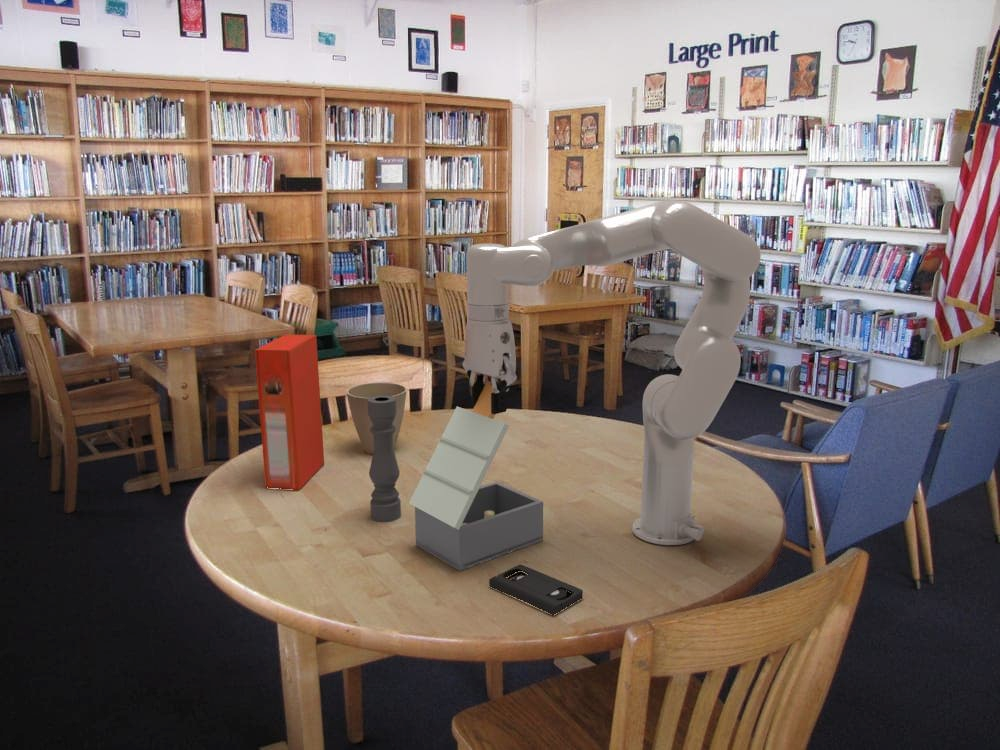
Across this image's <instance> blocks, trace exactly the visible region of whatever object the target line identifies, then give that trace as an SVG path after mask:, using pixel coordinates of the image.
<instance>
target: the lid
mask: <svg viewBox="0 0 1000 750" xmlns="http://www.w3.org/2000/svg"><path fill="white" fill-rule="evenodd" d="M484 384H485V386H484V388H483V390H482V392H481V394H480V396H479V398H478V400H477V402H476V404H475V406H474V407H472V411H471V410H469V409H466V408H462V407H459V406H457V405H456V407H455V409H454V411H453V414H452V415H451V418H450V419H449V421H448V423H447V425H446V427H445V430H444V432H443V434H442V436H440V437H439V441H438V443H437V446H436V447H435V450H434V451H433V454H432V455H431V458H430V460H429V461H428V463H427V466H426V468H424V470H423V474H422V476H421V478H420V480H419V482H418V484H417V486H416V488H415V490H414V492H413V494H412V496H411V498H410V500H409V503H408V504H409V505H411V506H412V507H414V508H415V507H417V508H418V509H420V510H422V511H424V512H426V513H428V514H430V515H432V516H433V517H435V518H437V519H439V520H441V521H443V522H445V523H446V524H448V525H450V526H452V527H454V528H456V529H458V530H459V529H460V527H461V525H462V523H463V521H464V518H465V516H466V514H467V512H468V510H469V508H470V506H471V504H472V502H473V500H474V498H475V496H476V494H477V492H478V490H479V487H480V486H482V483H483V481H484V479H485V477H486V475H487V473H488V471H489V469H490V466H491V465H492V462H493V461H494V459H495V456H496V455H497V452H498V450H499V448H500V446H501V445H502V442H503V441H504V438H505V435H506V434H507V432H508V429H509V427H510V425H508V424H507V423H506V422H502V421H500V420H497V419H495V416H496V414H492V413H491V393H493V392H494V391H493V387H492V383H491V384H489V383H487V382H486V383H484ZM507 392H508V391H506V393H507Z"/></svg>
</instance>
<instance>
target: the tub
mask: <svg viewBox="0 0 1000 750" xmlns="http://www.w3.org/2000/svg"><path fill="white" fill-rule="evenodd" d="M414 526H415V527H414V528H415V546H417V547H419V548H420V549H422V550H423V551H425V552H427V553H428V554H430V555H433V556H434V557H435V558H437V559H439V560H440V561H442V562H444V563H445V562H446V563H445V564H447V565H449V566H451V567H452V568H453V569H456V570H458V571H459V572H461V571H464V570H466V569H465V568H467V569H469V568H471V567H470V566H472V567H474V566H473V565H475V564H478V563H480V564H482V563H481V562H483V563H485V562H484V561H486V562H488V561H487V560H489V559H491V560H493V559H492V558H494V559H496V558H495V557H497V558H499V557H498V556H500V555H502V556H504V555H503V554H505V555H507V554H506V553H508V552H510V553H512V552H511V551H513V552H515V550H516V551H518V550H517V549H519V550H521V549H524V548H526V547H529V545H530V546H532V545H534V544H538V543H540V542H543V541H544V501H542V500H540V499H539V498H535V497H533V496H531V495H529V494H526V493H524V492H522V491H520V490H517V489H515V488H512V487H510V486H508V485H506V484H504V483H501V482H499V481H493V482H491V483H487V484H484V485H480V487H479V490H478V492H477V494H476V496H475V498H474V500H473V502H472V504H471V506H470V508H469V510H468V512H467V514H466V516H465V518H464V521H463V523H462V525H461V527H460V529H459V530H458V529H456V528H454V527H452V526H450V525H448V524H446V523H445V522H443V521H441V520H439V519H437V518H435V517H433V516H432V515H430V514H428V513H426V512H424V511H422V510H420V509H418V508H417V507H415V506H414ZM523 547H524V548H523ZM520 548H521V549H520ZM508 554H509V553H508ZM500 557H501V556H500ZM489 561H490V560H489ZM478 565H479V564H478ZM475 566H476V565H475ZM468 567H469V568H468ZM463 569H464V570H463ZM460 570H461V571H460Z"/></svg>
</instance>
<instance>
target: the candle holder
mask: <svg viewBox="0 0 1000 750" xmlns="http://www.w3.org/2000/svg"><path fill="white" fill-rule="evenodd" d="M367 401H368V416H369V417H370V420H371V421H372V424H373V426H372V427H371V428H370V432H371V433H372V434H373V437H374V451H373V454H372V457H371V462H370V467H369V471H368V472H369V473H368V475H369V478H370V480H371V482H372V483H373V486H374V490H373V491H372V493H371V495H370V496H371V500H370V501H369V506H370V508H369V509H370V518H371V519H372V520H373V521H376V522H378V523H381V522H383V523H387V522H393V521H396V520H398V519H400V518H401V516H402V506H401V505H402V504H401V503H402V502H401V499H400V493H399V490H397V488H396V484H397V482H398V479H399V478H400V472H401V471H400V469H399V465H398V460H397V458H396V454H395V450H394V449H395V448H394V449H393V434H394V432H395V431H396V427H395V426H394V425H392V423H393V421H394V419H395V415H396V414H397V410H396V398H395V397H393V396H374V397H371V398H368V400H367Z"/></svg>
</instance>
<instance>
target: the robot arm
mask: <svg viewBox="0 0 1000 750" xmlns="http://www.w3.org/2000/svg"><path fill="white" fill-rule="evenodd" d="M665 250H670V251H673V252H675V253H676V254H678V255H680V256H681V257H684V258H685V259H687V260H688V261H691V262H692V263H693V264H696V265H697V266H699V267H700V269H701V272H702V274H703V290H702V293H701V296H700V298H699V301H698V303H697V305H696V307H695V309H694V311H693V313H692V315H691V316H690V317H689V320H688V321H687V323H686V326H685V327H684V329H683V330H682V332H681V334H680V336H679V337H678V339H677V341H676V343H675V346H674V349H673V356H674V360H675V362H676V364H677V366H678V367H679V368H680V369H681V372H680V374H679V376H678V375H675V374H669V373H668V374H661V375H659V376H657V377H654V379H652V380H651V381H650V382H649V384H647V386H646V388H645V390H644V392H643V395H642V396H643V397H642V421H643V422H642V423H643V456H642V473H641V475H642V476H641V477H642V478H641V479H642V480H641V497H640V498H641V500H640V501H641V503H640V517H638V518H637V519H635V520H634V521H633V522H632V528H631V530H632V532H633V534H634V535H635V536H636V537H637V538H638V539H641V540H642V541H645V542H648V543H651V544H655V545H661V546H679V545H685V544H689V543H691V542H693V541H694V540H695V541H697V542H698V541H700V540H702V538H703V534H704V533H705V526H702V525H699V524H697V523H696V522H695V519H696V515H695V514H692V513H691V509H692V508H691V505H692V494H693V493H692V489H693V471H694V470H693V469H694V459H695V439H696V438H697V437H699V436H701V435H702V434H703V433H704V432H705V431H706V430H707V429H708V428H709V426H711V424H712V422H713V420H714V419H715V417H716V416H717V413H718V412H719V410H720V409H721V406H722V405H723V403H724V402H725V400H726V398H727V396H728V395H729V392H730V391H731V389H732V387H733V385H734V384H735V382H736V380H737V378H738V376H739V372H740V370H741V362H742V361H741V353H740V350H739V348H738V346H737V344H736V343H735V342H734V341H733V338H734V336H735V333H736V332H737V330H738V328H739V326H740V324H741V322H742V320H743V318H744V317H745V314H746V311H747V309H748V305H749V302H750V297H751V296H750V295H751V282H750V277H752V276H753V275H754V274H755V273H756V271H757V270H758V268H759V266H760V262H761V255H762V254H761V250H760V247H759V245H758V243H757V241H756V240H755V239H754V238H753V237H752V236H751V235H749V234H747V233H746V232H744V231H741V230H740V229H739V228H737V227H734V226H732V225H731V224H728V223H727V222H725V221H723V220H722V219H720V218H718V217H716V216H714V215H712V214H710V213H709V212H707V211H705V210H703V209H702V208H699V206H696V205H694V204H692V203H690V202H687V201H681V200H675V199H671V200H670V199H669V200H661V201H658V202H654V203H650V204H646V205H643V206H641V207H637V208H633V209H629V210H626V211H623V212H620V213H615V214H612V215H609V216H604V217H601V218H597V219H594V220H589V221H586V222H582V223H579V224H575V225H571V226H568V227H563V228H559V229H555V230H552V231H547V232H545V233H541V234H538V235H534V236H531V237H527V238H524V239H520V240H518V241H517V242H515V243H514V244H513V245H512V246H505V245H503V244H499V243H477V244H476V243H475V244H472V245H470V246H469V247H468V248H467V250H466V293H467V294H466V297H467V299H466V301H467V302H466V303H467V304H466V306H467V308H466V309H467V320H466V325H465V326H466V327H465V333H464V334H465V335H464V337H465V338H464V360H463V361H462V367H463V369H464V370H465V372H466V375H467V377H468V378H469V386H471V407H472V408H474V406H475V404H476V402H477V400H478V398H479V396H480V394H481V392H482V390H483V388H484V386H485V384H486V383H485V382H486V376H487V377H490V381H491V385H492V387H493V391H494V392H493V393H491V413H492V414H495V415H497V414H498V415H499V414H501V413H506V411H507V409H508V408H507V407H508V406H507V400H508V399H507V396H508V395H507V392H509V391H510V387H511V386H512V385H513V383H515V381H517V379H518V377H517V374H516V371H517V359H516V344H515V335H514V330H513V324H512V321H510V305H509V303H510V301H509V300H510V298H509V297H510V296H509V295H510V293H509V292H510V291H509V289H510V287H509V286H510V285H514V286H523V287H538V286H540V285H543V284H544V283H546V282H547V281H549V280H550V278H551V276H552V274H553V273H554V272H556V271H561V270H565V269H570V268H575V267H581V266H582V267H583V266H593V267H594V266H595V267H596V266H597V267H599V266H600V267H604V266H608V265H609V266H611V265H615V264H618V263H622V262H625V261H629V260H631V259H635V258H638V257H639V258H640V257H643V256H645V255H649V254H650V255H651V254H654V253H658V252H661V251H665ZM498 379H500V381H499V380H498ZM506 391H507V392H506Z"/></svg>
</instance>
